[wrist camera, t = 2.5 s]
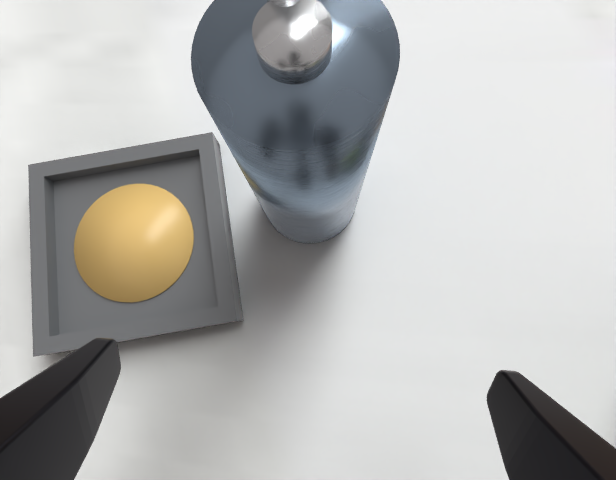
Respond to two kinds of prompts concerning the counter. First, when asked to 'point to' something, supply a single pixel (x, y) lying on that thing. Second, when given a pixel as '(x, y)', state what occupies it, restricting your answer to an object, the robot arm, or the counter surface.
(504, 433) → the robot arm
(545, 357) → the counter surface
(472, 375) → the counter surface
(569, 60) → the counter surface
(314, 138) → the spout can
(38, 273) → the tray
